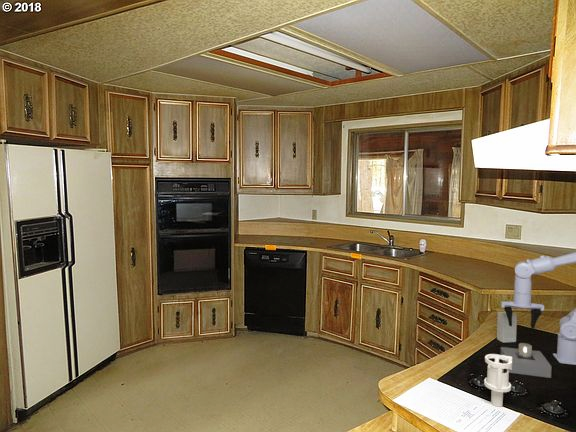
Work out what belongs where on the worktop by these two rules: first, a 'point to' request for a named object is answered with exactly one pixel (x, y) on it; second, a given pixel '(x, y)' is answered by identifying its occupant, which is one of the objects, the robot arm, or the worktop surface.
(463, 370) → the worktop surface
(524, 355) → the peg
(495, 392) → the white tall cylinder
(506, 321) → the skincare box
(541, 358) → the socket block
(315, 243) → the worktop surface
